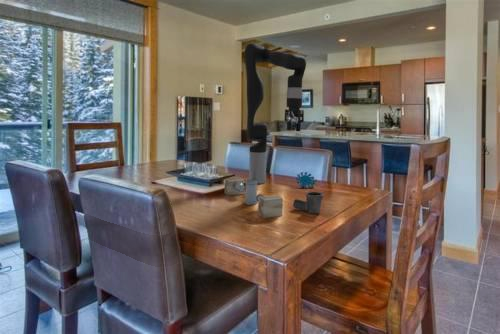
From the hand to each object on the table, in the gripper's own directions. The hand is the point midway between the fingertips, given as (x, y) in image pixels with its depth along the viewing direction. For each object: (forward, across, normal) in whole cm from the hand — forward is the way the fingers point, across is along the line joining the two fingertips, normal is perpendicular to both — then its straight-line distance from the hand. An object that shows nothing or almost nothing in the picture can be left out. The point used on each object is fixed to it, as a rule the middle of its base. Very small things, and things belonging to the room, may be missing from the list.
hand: (293, 130), depth 175 cm
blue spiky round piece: (+30, -3, +11) cm, 32 cm away
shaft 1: (+27, +2, -30) cm, 41 cm away
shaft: (+27, +28, -30) cm, 49 cm away
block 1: (+30, -4, -30) cm, 43 cm away
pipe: (+30, +36, -14) cm, 49 cm away
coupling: (+30, +15, -30) cm, 45 cm away
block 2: (+30, +34, -30) cm, 54 cm away
